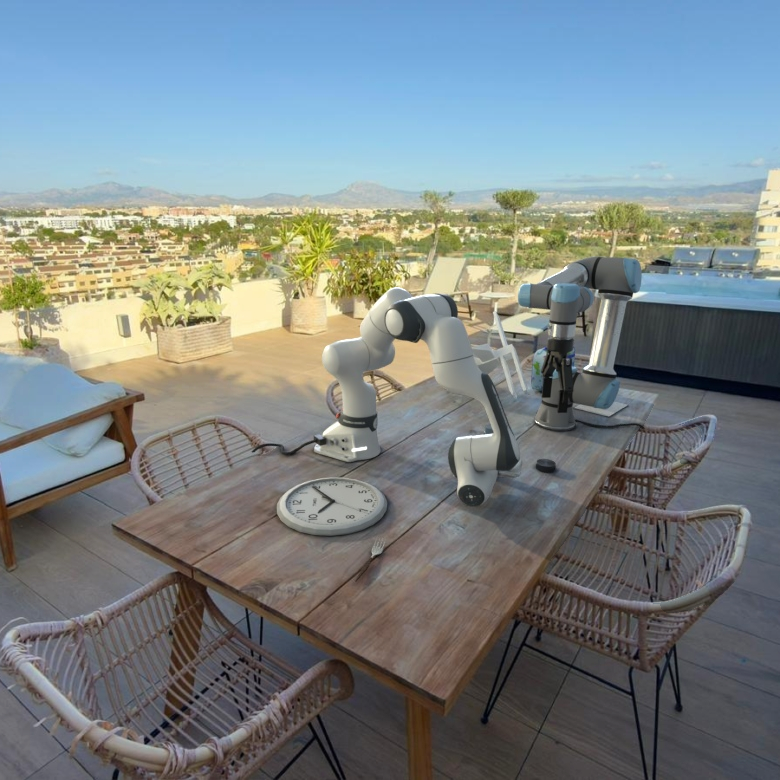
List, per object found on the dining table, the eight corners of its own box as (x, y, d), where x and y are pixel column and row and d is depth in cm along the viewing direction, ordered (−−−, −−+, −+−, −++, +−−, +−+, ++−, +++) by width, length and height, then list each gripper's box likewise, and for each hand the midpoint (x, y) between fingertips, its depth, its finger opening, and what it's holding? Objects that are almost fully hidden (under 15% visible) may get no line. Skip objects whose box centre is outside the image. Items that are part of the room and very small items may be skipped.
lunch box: (547, 396, 238) (552, 351, 232) (526, 391, 246) (531, 347, 239) (574, 385, 256) (579, 343, 250) (554, 380, 263) (559, 340, 257)
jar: (499, 472, 164) (503, 425, 159) (493, 478, 160) (497, 430, 155) (484, 468, 166) (487, 422, 161) (478, 474, 162) (481, 427, 157)
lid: (539, 472, 164) (539, 466, 163) (533, 464, 170) (533, 458, 169) (558, 472, 164) (558, 466, 164) (551, 464, 170) (552, 458, 169)
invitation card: (608, 416, 214) (573, 407, 224) (608, 416, 214) (573, 408, 224) (628, 404, 229) (594, 396, 238) (628, 405, 229) (594, 397, 238)
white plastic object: (461, 429, 252) (437, 405, 227) (444, 352, 274) (420, 323, 250) (535, 404, 240) (518, 377, 215) (510, 326, 262) (492, 293, 237)
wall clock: (392, 527, 129) (268, 531, 127) (391, 533, 130) (269, 537, 127) (383, 473, 158) (282, 475, 155) (383, 478, 158) (282, 480, 156)
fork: (349, 582, 112) (349, 574, 111) (377, 542, 126) (377, 535, 125) (361, 585, 111) (361, 577, 110) (387, 544, 125) (387, 537, 125)
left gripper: (520, 467, 145) (526, 448, 157) (448, 455, 152) (459, 438, 164) (518, 487, 147) (524, 467, 159) (447, 475, 154) (458, 456, 166)
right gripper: (534, 328, 166) (528, 391, 173) (564, 347, 142) (556, 419, 149) (557, 328, 167) (550, 391, 173) (591, 346, 143) (582, 419, 150)
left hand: (490, 452), depth 162 cm, fingers open, 7 cm apart
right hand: (553, 404), depth 161 cm, fingers open, 13 cm apart
